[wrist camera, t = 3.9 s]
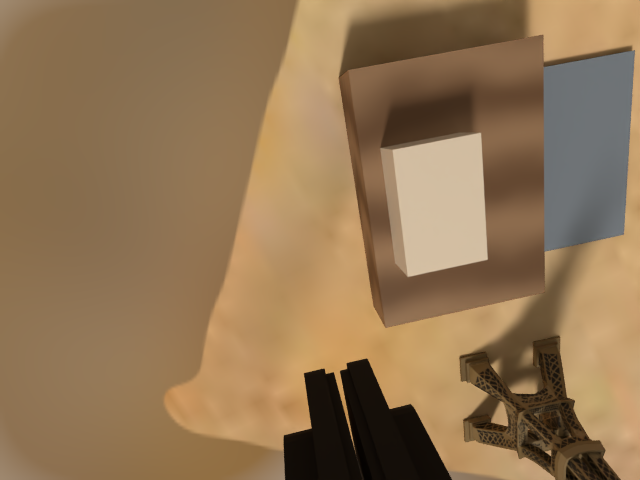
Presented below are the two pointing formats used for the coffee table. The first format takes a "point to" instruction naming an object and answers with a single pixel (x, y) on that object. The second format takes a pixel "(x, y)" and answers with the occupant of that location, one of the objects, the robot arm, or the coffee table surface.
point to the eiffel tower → (537, 419)
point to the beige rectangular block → (436, 202)
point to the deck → (498, 169)
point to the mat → (586, 148)
